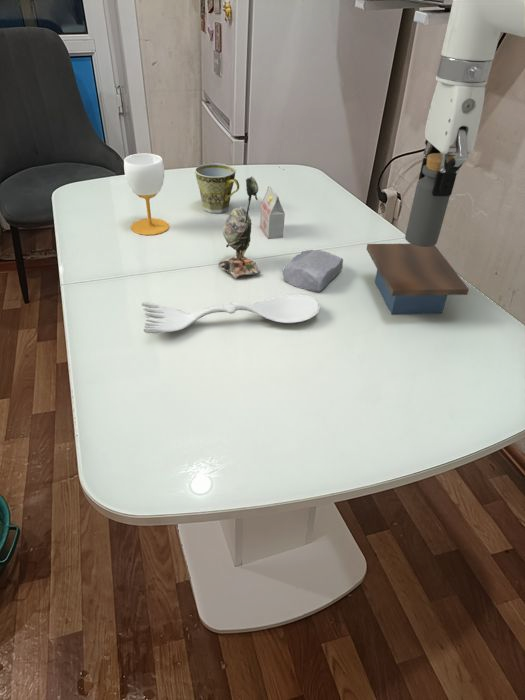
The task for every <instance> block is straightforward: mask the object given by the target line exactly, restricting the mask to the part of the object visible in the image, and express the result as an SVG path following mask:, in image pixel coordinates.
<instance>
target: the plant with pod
mask: <svg viewBox="0 0 525 700" xmlns="http://www.w3.org/2000/svg"><path fill="white" fill-rule="evenodd" d="M245 186H246V194H247V196H248V198H247V199H248V205H247V208H246V210H245V209H244V208H243V207H241V206H238V207H235V208H233V209H232V210H231V212H230V214H229V215H228V216H227V218H226V220H225V222H224V224H223V225H224V226H223V228H222V229H223V230H222V234H223V237H224V240H225V241H226V243H227V244H226V245H225V247H226V248H229V247H230V248H232V249H233V250H235V257H230V258H229V259H228V260H223V261H220V262H218V265H219V266H220V269H221V270H223V271H224V272H225V271H226V272H227V273H228V274H231V275H232V276H233V278H236V279H237V278H239V277H242V276H246V275H250V276H251V275H260V273H261V271H260V270H259V268H258V264H257V262H255V261H254V260H251V259H249V258H248V257H246V256H244V255H245V253H246V251H247V250H248V248H249V247H250V243H251V234H252V225H253V224H252V219H251V217H250V214H249V211H250V206H251V201H252V196H253V197H254V199H255V200H256V201H259V200H258V196H257V194H258V193H259V185H258V182H257V180H256V179H255V177H254V176H253V175H252V176H250V177H248V178H246V179H245ZM242 206H244V204H242Z"/></svg>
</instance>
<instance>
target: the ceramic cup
mask: <svg viewBox="0 0 525 700" xmlns="http://www.w3.org/2000/svg"><path fill="white" fill-rule="evenodd" d="M194 172H195V178H196V183H197V187H198V190H199V194H200V198H201V203H202V204H201V205H202V208H203V211H205V212H206V213H207V212H208V213H209V214H224V213H226V212H228V211H229V208H230V202H231V197H232V196H233V195H234V194H235V193H237V192H238V191H239V190H240V183H239V181H238V180H237V179H236V169H235V167H234V166H231V165H228V164H225V163H205V164H200V165H198V166H196V167H195V169H194ZM234 184H235V186H236V189H235V190H234V191H233V187H234Z"/></svg>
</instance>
